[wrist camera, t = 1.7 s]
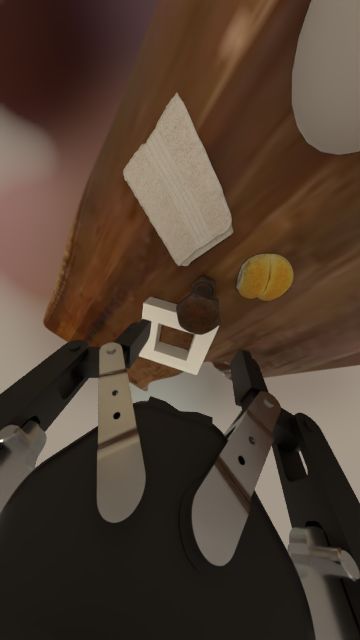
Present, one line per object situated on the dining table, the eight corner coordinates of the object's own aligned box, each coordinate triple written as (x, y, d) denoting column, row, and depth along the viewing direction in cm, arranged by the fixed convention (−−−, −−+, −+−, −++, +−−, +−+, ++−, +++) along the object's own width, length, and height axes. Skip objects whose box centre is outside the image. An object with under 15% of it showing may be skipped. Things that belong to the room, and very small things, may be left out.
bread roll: (277, 300, 28) (286, 308, 25) (232, 293, 29) (234, 300, 26) (299, 255, 24) (313, 258, 20) (244, 250, 25) (249, 252, 22)
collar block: (218, 316, 32) (219, 325, 29) (198, 364, 41) (196, 375, 38) (150, 296, 33) (143, 302, 30) (145, 346, 42) (139, 356, 39)
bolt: (200, 300, 31) (191, 341, 18) (186, 282, 30) (166, 313, 17) (223, 284, 28) (231, 320, 16) (209, 264, 27) (205, 285, 14)
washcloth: (182, 269, 29) (179, 272, 27) (124, 177, 24) (113, 169, 21) (237, 230, 24) (240, 229, 21) (180, 101, 19) (174, 78, 16)
